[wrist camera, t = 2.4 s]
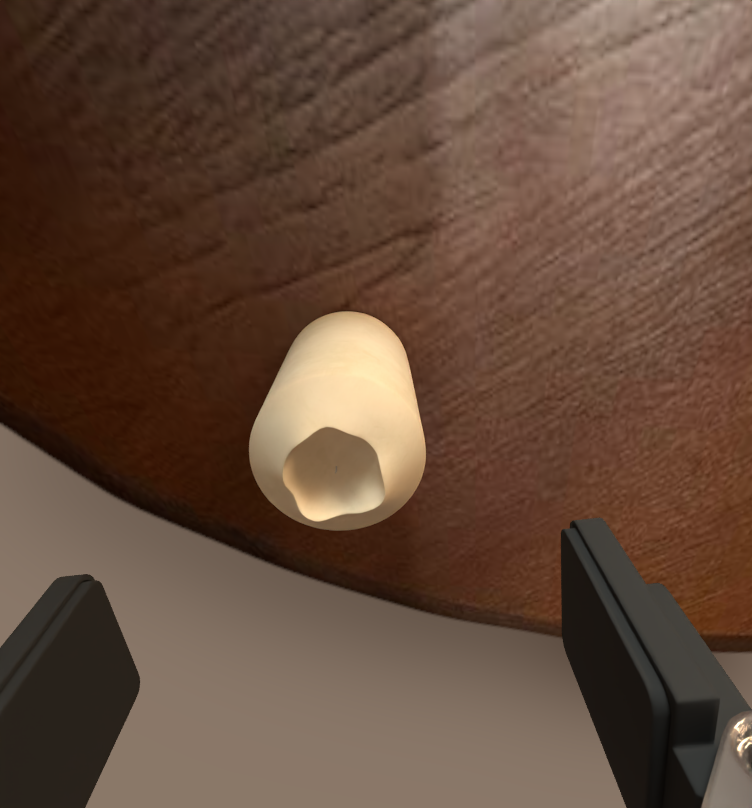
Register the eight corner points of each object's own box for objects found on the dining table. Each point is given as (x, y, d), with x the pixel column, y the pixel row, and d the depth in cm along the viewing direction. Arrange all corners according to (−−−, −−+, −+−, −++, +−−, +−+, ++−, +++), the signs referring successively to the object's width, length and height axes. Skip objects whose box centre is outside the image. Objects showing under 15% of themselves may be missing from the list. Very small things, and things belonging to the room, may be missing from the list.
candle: (432, 351, 25) (469, 453, 15) (367, 444, 26) (365, 586, 17) (326, 285, 24) (298, 353, 14) (265, 387, 25) (205, 506, 16)
